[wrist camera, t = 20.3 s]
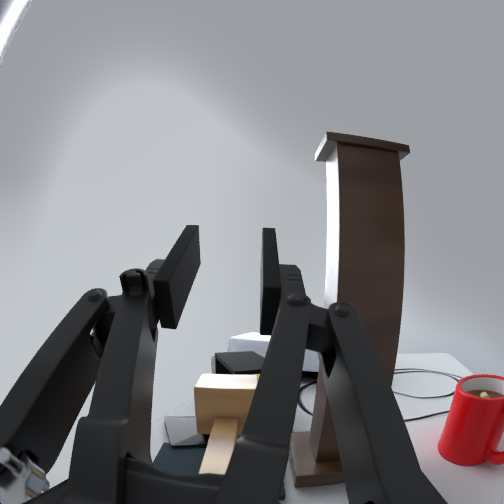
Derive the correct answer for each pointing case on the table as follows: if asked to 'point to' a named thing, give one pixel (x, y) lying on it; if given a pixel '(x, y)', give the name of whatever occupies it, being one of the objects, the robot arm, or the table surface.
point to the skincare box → (260, 346)
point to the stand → (357, 274)
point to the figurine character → (237, 363)
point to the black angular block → (185, 432)
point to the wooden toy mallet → (222, 415)
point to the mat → (185, 461)
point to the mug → (475, 422)
